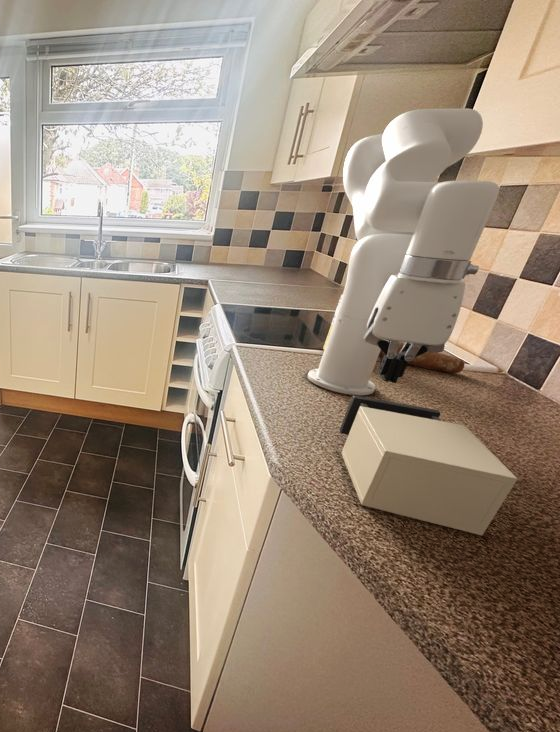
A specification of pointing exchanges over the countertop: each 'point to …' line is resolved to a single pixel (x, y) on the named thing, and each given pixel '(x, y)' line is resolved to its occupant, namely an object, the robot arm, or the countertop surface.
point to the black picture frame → (385, 406)
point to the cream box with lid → (425, 470)
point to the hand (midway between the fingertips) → (387, 379)
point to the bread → (434, 361)
